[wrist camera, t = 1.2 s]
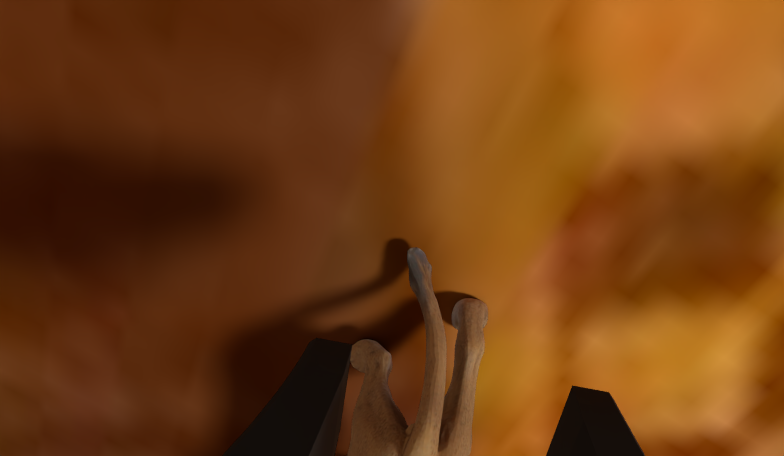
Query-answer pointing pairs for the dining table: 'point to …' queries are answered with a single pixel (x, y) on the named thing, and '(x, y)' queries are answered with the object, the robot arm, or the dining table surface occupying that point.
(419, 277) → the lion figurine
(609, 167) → the dining table surface
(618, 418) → the robot arm
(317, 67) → the dining table surface
